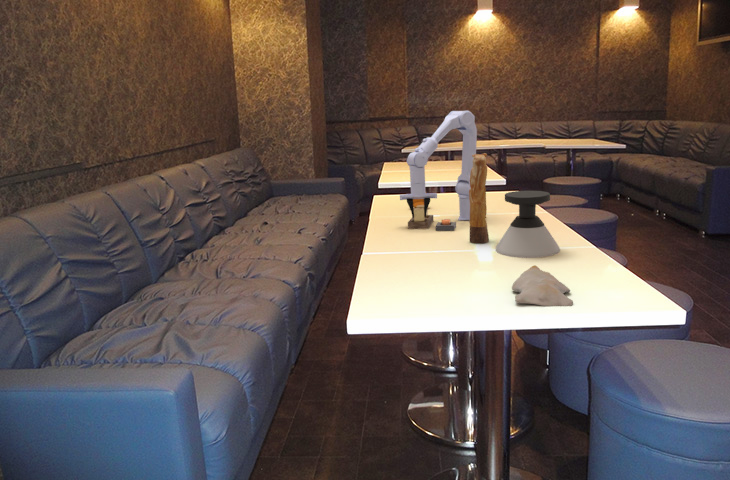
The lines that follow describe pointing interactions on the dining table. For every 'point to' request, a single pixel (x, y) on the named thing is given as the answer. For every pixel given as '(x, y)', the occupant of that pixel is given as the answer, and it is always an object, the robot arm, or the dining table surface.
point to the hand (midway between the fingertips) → (419, 217)
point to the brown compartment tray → (420, 223)
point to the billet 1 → (423, 207)
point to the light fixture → (527, 228)
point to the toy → (418, 201)
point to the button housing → (445, 226)
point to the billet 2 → (419, 215)
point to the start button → (445, 222)
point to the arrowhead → (540, 289)
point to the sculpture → (478, 200)
